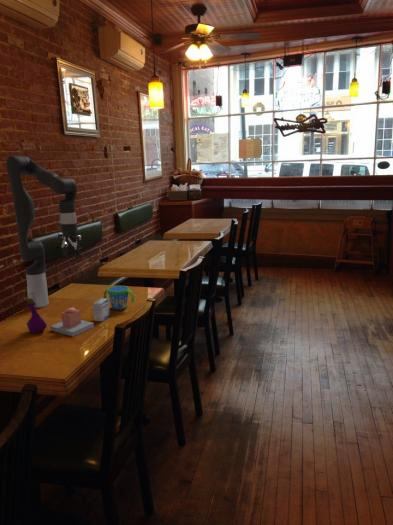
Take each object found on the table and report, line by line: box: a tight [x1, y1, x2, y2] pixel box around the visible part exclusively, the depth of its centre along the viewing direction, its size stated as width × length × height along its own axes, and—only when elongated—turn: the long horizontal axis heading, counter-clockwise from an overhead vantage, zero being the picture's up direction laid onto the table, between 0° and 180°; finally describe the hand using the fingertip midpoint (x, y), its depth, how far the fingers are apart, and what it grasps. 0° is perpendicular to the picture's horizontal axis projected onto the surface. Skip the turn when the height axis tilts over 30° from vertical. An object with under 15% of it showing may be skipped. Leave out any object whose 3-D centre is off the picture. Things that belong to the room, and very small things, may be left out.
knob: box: [61, 307, 82, 328], centre depth 187 cm, size 5×6×7 cm
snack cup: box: [103, 285, 135, 311], centre depth 213 cm, size 16×10×10 cm
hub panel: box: [50, 319, 95, 338], centre depth 188 cm, size 14×12×6 cm
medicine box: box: [92, 297, 111, 322], centre depth 199 cm, size 8×4×9 cm, turn 168°
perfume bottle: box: [25, 291, 48, 335], centre depth 184 cm, size 8×8×18 cm
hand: (71, 256), depth 203 cm, fingers open, 8 cm apart
